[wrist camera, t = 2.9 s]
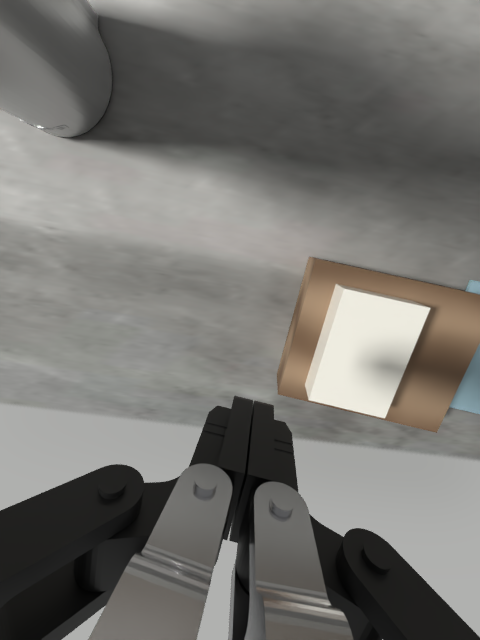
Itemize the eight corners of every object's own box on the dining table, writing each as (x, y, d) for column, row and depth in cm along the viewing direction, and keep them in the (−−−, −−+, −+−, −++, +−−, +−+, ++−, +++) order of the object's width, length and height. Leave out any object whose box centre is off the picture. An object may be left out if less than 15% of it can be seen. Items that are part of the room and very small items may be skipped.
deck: (309, 256, 25) (316, 258, 22) (465, 290, 25) (500, 299, 21) (276, 374, 29) (278, 394, 25) (413, 406, 28) (436, 432, 24)
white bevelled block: (335, 283, 22) (343, 288, 20) (412, 300, 22) (430, 308, 19) (304, 384, 24) (308, 400, 22) (373, 401, 24) (384, 418, 22)
